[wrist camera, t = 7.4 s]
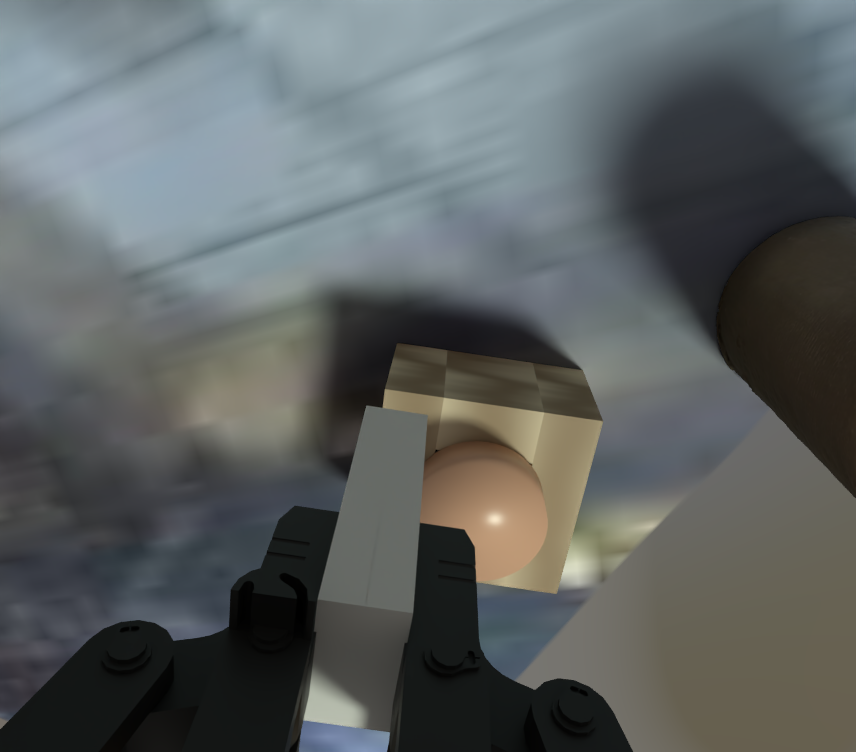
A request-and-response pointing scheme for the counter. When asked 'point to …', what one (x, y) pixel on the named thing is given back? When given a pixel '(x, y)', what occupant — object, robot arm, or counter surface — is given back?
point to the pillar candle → (800, 334)
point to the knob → (487, 504)
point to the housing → (508, 430)
